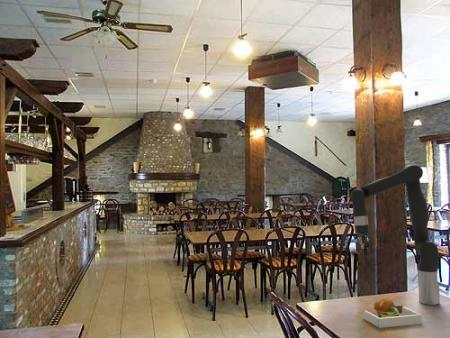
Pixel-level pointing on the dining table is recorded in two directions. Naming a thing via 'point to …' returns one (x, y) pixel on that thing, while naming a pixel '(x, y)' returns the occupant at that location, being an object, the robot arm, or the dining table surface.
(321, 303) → the dining table surface
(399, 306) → the cardboard carton
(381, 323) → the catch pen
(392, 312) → the cheeseburger
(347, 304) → the dining table surface
